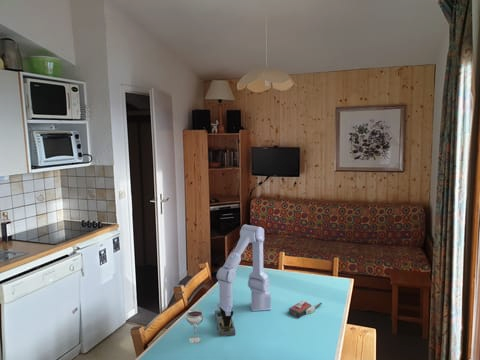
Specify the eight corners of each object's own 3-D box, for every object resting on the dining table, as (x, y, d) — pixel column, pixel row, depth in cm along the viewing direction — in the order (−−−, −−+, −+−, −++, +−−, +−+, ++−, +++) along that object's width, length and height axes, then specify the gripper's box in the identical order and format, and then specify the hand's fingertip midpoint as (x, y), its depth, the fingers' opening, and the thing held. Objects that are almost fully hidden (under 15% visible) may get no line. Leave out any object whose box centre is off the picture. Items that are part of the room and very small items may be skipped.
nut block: (229, 325, 170) (229, 315, 169) (231, 330, 166) (230, 319, 165) (220, 326, 169) (220, 315, 168) (222, 330, 165) (221, 320, 164)
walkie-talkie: (301, 320, 176) (323, 306, 191) (302, 311, 176) (323, 298, 191) (286, 314, 182) (308, 301, 197) (286, 306, 182) (308, 293, 196)
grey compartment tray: (229, 313, 183) (229, 309, 182) (235, 335, 163) (235, 330, 163) (214, 314, 182) (214, 310, 181) (219, 336, 162) (219, 332, 162)
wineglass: (189, 345, 155) (189, 318, 153) (185, 337, 161) (184, 311, 159) (205, 342, 157) (205, 315, 156) (200, 334, 164) (200, 308, 162)
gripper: (215, 288, 172) (215, 316, 173) (218, 302, 158) (218, 332, 159) (230, 287, 173) (230, 315, 175) (235, 301, 159) (235, 331, 160)
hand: (225, 323), depth 167 cm, fingers open, 4 cm apart
